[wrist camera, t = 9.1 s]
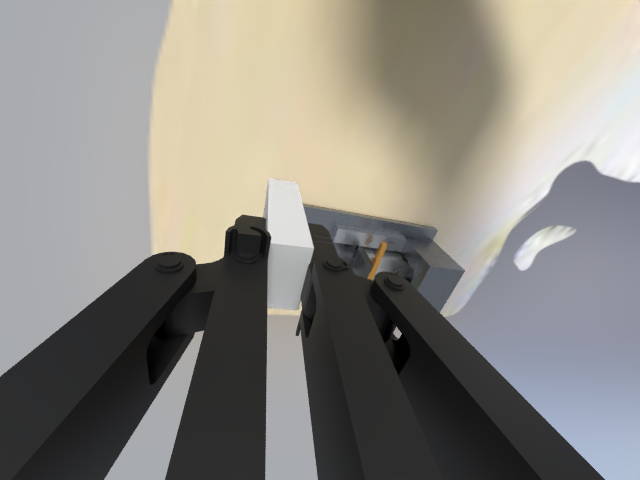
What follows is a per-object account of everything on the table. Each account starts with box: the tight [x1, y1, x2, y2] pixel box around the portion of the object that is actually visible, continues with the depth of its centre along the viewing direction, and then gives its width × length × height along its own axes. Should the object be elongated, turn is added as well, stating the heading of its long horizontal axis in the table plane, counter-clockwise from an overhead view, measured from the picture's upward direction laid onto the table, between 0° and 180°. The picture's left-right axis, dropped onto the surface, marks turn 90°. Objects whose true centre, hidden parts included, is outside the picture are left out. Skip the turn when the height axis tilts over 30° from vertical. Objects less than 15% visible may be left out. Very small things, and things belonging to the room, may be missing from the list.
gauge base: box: [303, 204, 465, 313], centre depth 42 cm, size 13×26×10 cm, turn 75°
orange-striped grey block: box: [351, 242, 416, 280], centre depth 44 cm, size 9×13×6 cm
